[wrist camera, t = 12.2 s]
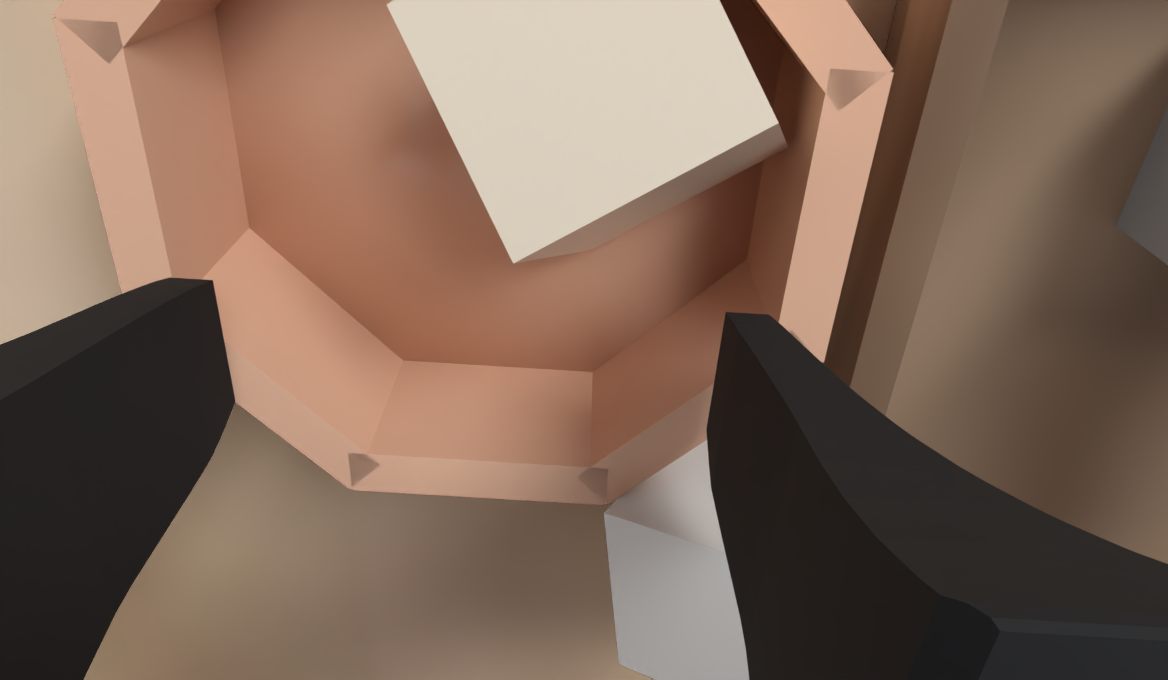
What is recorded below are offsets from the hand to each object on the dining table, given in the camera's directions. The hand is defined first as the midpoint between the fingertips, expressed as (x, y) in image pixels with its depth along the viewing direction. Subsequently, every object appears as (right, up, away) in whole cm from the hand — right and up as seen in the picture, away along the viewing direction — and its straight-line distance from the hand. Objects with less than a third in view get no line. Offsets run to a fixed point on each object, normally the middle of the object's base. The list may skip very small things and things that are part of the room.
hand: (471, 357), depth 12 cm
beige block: (+3, +2, -1) cm, 4 cm away
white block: (+4, -2, +2) cm, 5 cm away
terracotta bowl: (0, +4, +3) cm, 5 cm away
